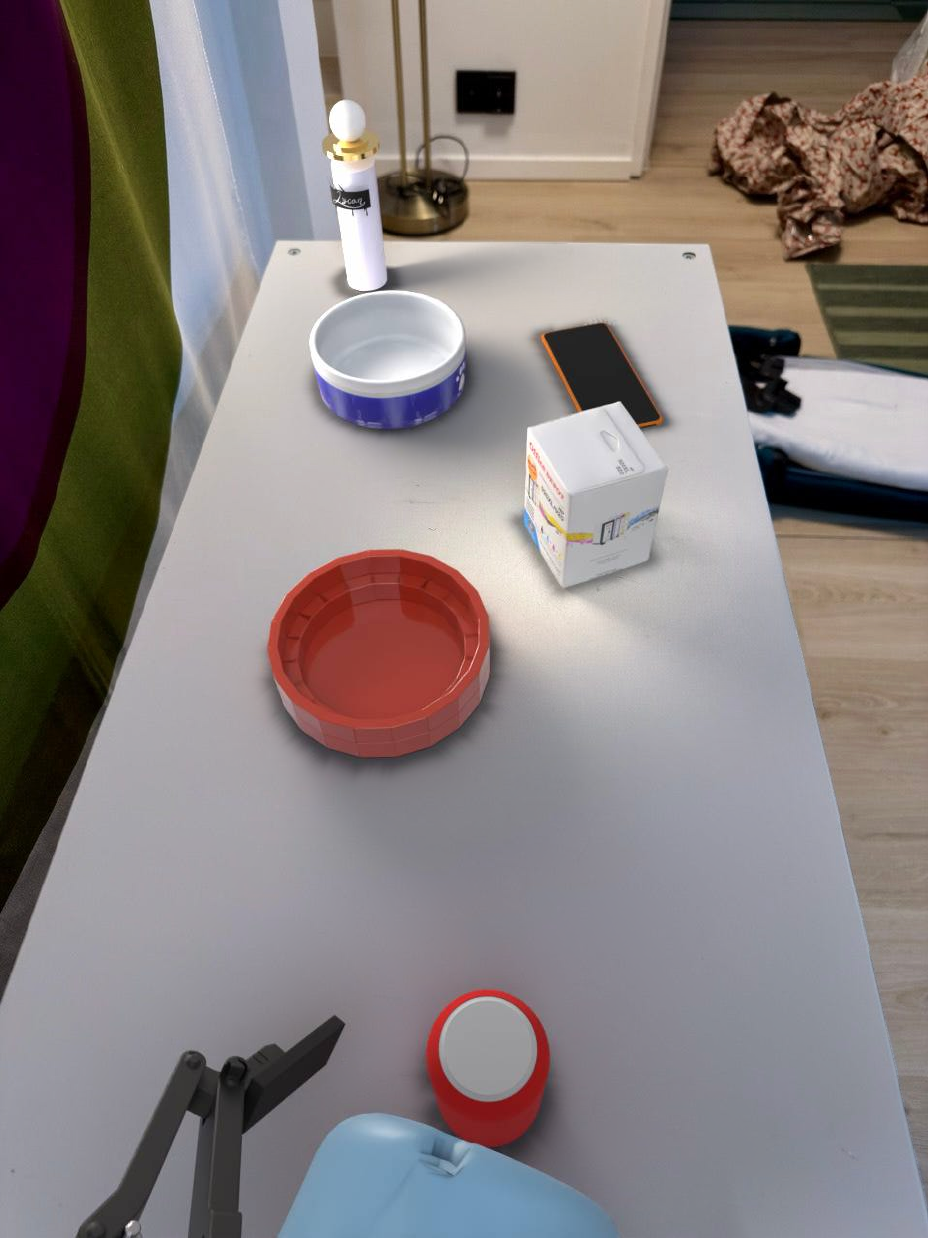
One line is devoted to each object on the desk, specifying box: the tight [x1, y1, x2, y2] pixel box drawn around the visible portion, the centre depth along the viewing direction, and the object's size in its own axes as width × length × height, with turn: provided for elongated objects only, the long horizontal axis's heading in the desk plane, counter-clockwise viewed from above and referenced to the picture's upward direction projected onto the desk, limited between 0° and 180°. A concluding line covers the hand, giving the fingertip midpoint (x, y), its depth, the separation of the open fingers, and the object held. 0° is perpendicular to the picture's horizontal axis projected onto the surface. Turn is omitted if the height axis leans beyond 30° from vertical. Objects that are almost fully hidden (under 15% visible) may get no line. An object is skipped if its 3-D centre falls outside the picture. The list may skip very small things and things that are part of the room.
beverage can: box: [425, 988, 551, 1148], centre depth 48 cm, size 6×6×12 cm
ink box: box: [523, 402, 669, 589], centre depth 74 cm, size 9×8×12 cm
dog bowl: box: [309, 290, 467, 430], centre depth 90 cm, size 15×15×6 cm
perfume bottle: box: [321, 99, 388, 292], centre depth 95 cm, size 6×6×20 cm
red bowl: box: [266, 548, 491, 758], centre depth 69 cm, size 17×17×5 cm
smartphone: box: [540, 322, 664, 429], centre depth 91 cm, size 8×17×1 cm, turn 15°
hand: (435, 1129), depth 43 cm, fingers open, 13 cm apart
